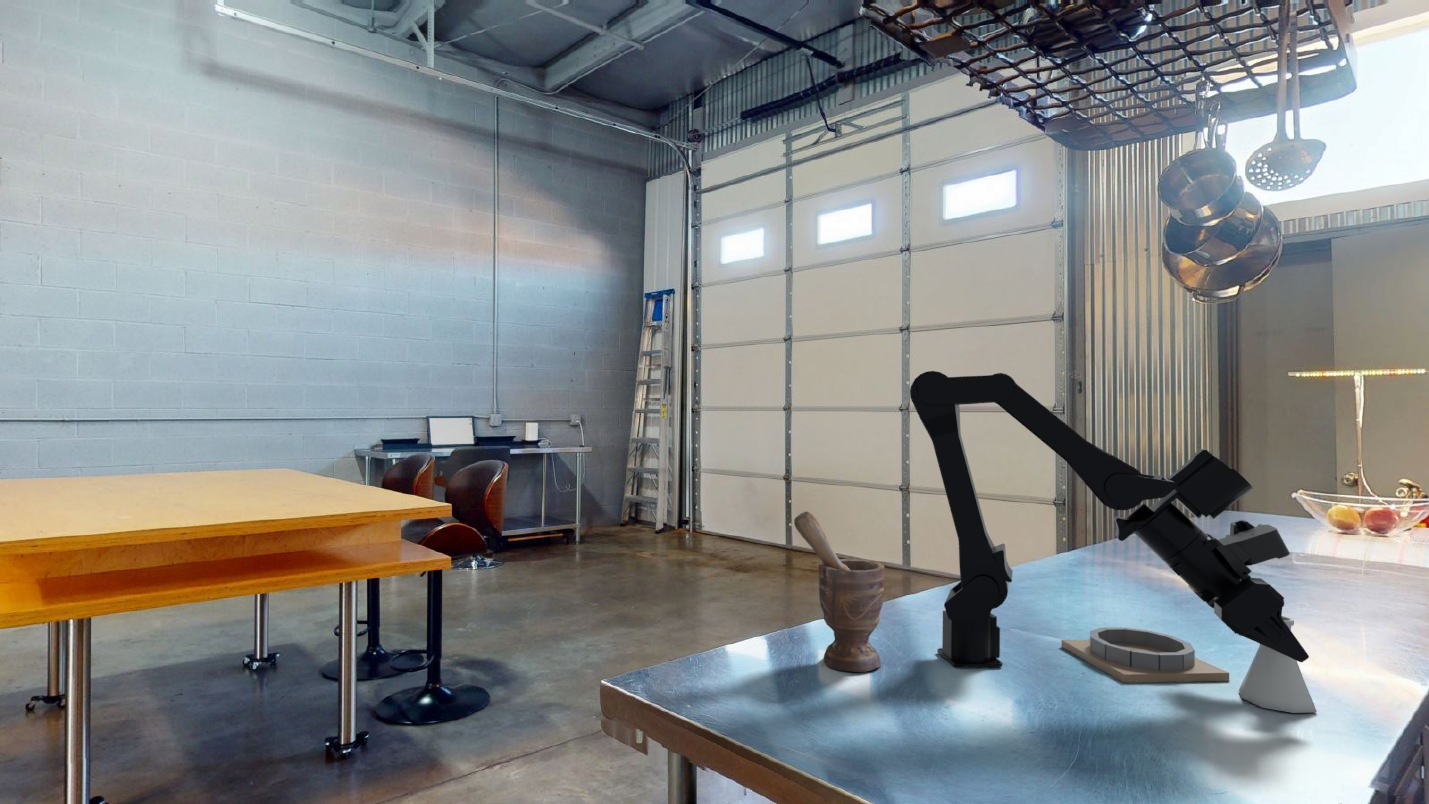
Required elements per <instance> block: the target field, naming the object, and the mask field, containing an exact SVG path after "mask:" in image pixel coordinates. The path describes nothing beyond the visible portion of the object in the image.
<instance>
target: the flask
mask: <svg viewBox="0 0 1429 804" xmlns="http://www.w3.org/2000/svg"><path fill="white" fill-rule="evenodd" d="M1282 619H1283V620H1284V622H1285V623H1286V625H1287V626H1288V627H1289V629H1290V630H1291V631H1292V627H1293V626H1294V625H1295V621H1294V619H1293V618H1292V617H1290V616H1285V615H1282ZM1258 645H1259V646H1258V647H1257V648H1258V649H1257V651H1256V653H1255V656H1254V657H1253V660H1252V662H1251V664H1250V666H1249V668H1248V670H1247V672H1246V674H1245V676H1244V678H1243V679H1242V682H1241V685H1239V688H1238V692H1239V695H1240V698H1241V699H1243V700H1246V701H1248V702H1250V703H1252V704H1253V705H1256V706H1258V707H1260V708H1264V709H1268V710H1275V711H1281V712H1287V713H1293V714H1301V713H1302V714H1303V713H1307V714H1309V713H1317V712H1318V711H1317V708H1316V706H1315V703H1314V701H1313V698H1312V696H1311V693H1310V691H1309V688H1308V686H1307V684H1306V681H1305V679H1304V677H1303V676H1304V675H1303V674H1302V671H1301V669H1300V665H1299V663H1298V661H1296V660H1294V659H1292V658H1290V657H1288V656H1286V655H1284V654H1281V653H1279V652H1277V651H1275V650H1273V649H1271V648H1268V647H1266V646H1264V645H1262V644H1260V643H1259V644H1258Z"/></svg>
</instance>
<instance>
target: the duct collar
mask: <svg viewBox="0 0 1429 804" xmlns="http://www.w3.org/2000/svg"><path fill="white" fill-rule="evenodd" d="M1060 643H1061V645H1060V646H1061V648H1063V649H1064V650H1066V651H1068V652H1070V653H1072V654H1073V655H1074V656H1077V657H1078V658H1080V659H1082V660H1084V661H1086V662H1087V663H1088V664H1091V665H1092V666H1094V667H1096V668H1098V669H1100V670H1101V671H1103V672H1105V673H1106V674H1108V675H1110V676H1111V677H1114V678H1115V679H1117V680H1119V681H1121V682H1122V683H1124V684H1125V683H1126V684H1127V683H1130V684H1131V683H1175V682H1177V683H1178V682H1187V683H1188V682H1223V681H1224V682H1226V681H1227V682H1228V681H1230V672H1228V671H1226V670H1224V669H1222V668H1219V667H1217V666H1215V665H1213V664H1211V663H1208V662H1206V661H1204V660H1202V659H1199V658H1197V657H1196V655H1195V654H1196V653H1195V651H1196V650H1195V649H1194V647H1193V645H1192V643H1190V642H1188V641H1185V640H1183V639H1181V638H1179V637H1176V636H1173V635H1169V634H1165V633H1161V632H1158V631H1153V630H1148V629H1139V628H1131V627H1126V626H1125V627H1122V626H1117V627H1113V626H1112V627H1110V626H1109V627H1098V628H1095V629H1092V630H1089V639H1061V642H1060Z"/></svg>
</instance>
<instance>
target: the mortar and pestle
mask: <svg viewBox="0 0 1429 804" xmlns="http://www.w3.org/2000/svg"><path fill="white" fill-rule="evenodd" d="M793 523H794V527H795V529H796V530H797V532H798V533H799V534H800V536H801V537H802V538H803V539H804V540H805V542H806V543H807V544H808V545H809V546H810V547H811V549H812V550H813V551H814V553H815V554H816V555H817V556H818V557H819V558H818V559H820V561H822V562H820V563H819V564H818V581H819V583H818V595H819V596H818V597H819V603H820V607H821V610H822V612H823V619H824V622H825V624H826V625H827V626H828V627H829V628H830V629H831V630H832V631H833V636H834V640H833V642H832V643H830V644H829V645H828V646H827V647H826V649H825V652H824V654H823V663H824V664H825V665H826V666H827V667H828V668H830V669H834V670H837V671H843V672H855V673H858V672H860V673H862V672H864V673H865V672H870V671H873V670H875V669H878V668H880V667H882V662H881V659H880V655H879V653H878V651H877V649H876V648H875V647H873V645H872V643H870V641H869V640H870V636H871V634H872V633H873V632H874V630H875V629H876V628H877V627H878V625H879V623H880V620H881V617H880V615H881V611H882V607H883V605H884V601H885V573H886V571H885V565H884V564H883V563H881V562H876V561H875V560H871V561H870V560H867V559H848V558H844V559H843V558H842V559H841V558H839V557H838V556H837V554H836V553H835V551H834V549H833V547H832V546H831V543H830V542H829V540H828V538H827V536H826V533H825V532H824V531H823V529H822V527H821V525H820V523H819V522H818V520H817V518H816V517H815V516H814V515H813V514H812V513H811V512H809V511H803V512H801V513H800V514H798V515H797V516H796V517H794V521H793Z"/></svg>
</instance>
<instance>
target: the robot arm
mask: <svg viewBox="0 0 1429 804" xmlns="http://www.w3.org/2000/svg"><path fill="white" fill-rule="evenodd" d="M909 396H910V400H911V402H912V403H913V404H912V405H913V406H914V409H915V410H916V411H915V412H917V415H918V417H919V419H920V421H921V422H922V425H923V427H924V429H925V430H926V432H927V434H928V436H929V438H930V440H931V442H932V446H933V450H934V454H935V456H936V461H937V463H938V464H937V465H938V468H939V472H940V475H941V479H942V483H943V487H944V491H945V493H946V494H945V495H946V497H947V498H946V499H947V502H948V505H949V510H950V513H951V517H952V521H953V524H954V528H955V532H956V535H957V540H958V557H959V558H958V560H959V577H960V581H959V582H958V583H957V584H956V585H954V586H953V587H952V588H951V589H950V590H949V593H948V594H947V598H946V599H945V602H944V604H943V606H944V610H942V639H941V640H942V643H941V644H942V646H941V648H937V653H938V654H939V655H940V656H941V657H943V658H944V659H945V660H947V662H948V663H950V664H951V665H952V666H953V667H955V668H997V667H998V668H1002V667H1003V662H1002V661H1001V660H999V658H1000V657H1001V627H1000V626H999V625H998V623H997V622H998V616H996V615H995V614H993V613H991V612H992V610H994V609H997V608H999V607H1000V606H1001V605H1003V604H1004V602H1005V601H1006V599H1007V597H1008V595H1009V594H1008V593H1009V585H1010V583H1012V581H1013V575H1014V574H1013V572H1014V571H1013V569H1012V568H1011V567H1010V565H1009V563H1008V561H1007V552H1006V550H1007V549H1006V544H1005V543H1002V544H998V545H995V544H994V543H993V541H992V539H991V537H990V535H989V532H988V531H987V526H986V524H985V519H984V516H983V513H982V509H981V505H980V502H979V497H978V494H977V490H976V487H975V482H974V480H973V479H974V478H973V475H972V472H971V471H972V470H971V468H970V465H969V461H968V456H967V453H966V450H965V449H966V448H965V446H964V441H963V438H962V435H961V413H960V411H961V409H960V405H962V406H963V405H975V404H976V405H977V404H993V403H994V404H997V405H998V406H999V407H1001V409H1003V410H1004V411H1006V413H1007V414H1009V416H1011V417H1012V418H1014V420H1016V421H1017V422H1019V424H1021V425H1022V426H1023V427H1025V428H1026V430H1028V431H1029V432H1030V433H1032V434H1033V435H1034V436H1035V437H1036V438H1038V439H1039V440H1040V441H1041V442H1042V443H1044V444H1045V445H1046V446H1047V447H1048V448H1049V449H1051V450H1052V451H1053V452H1054V453H1056V454H1057V455H1058V456H1059V457H1060V458H1062V459H1063V460H1064V462H1065V463H1067V464H1068V465H1069V466H1070V467H1071V469H1072V470H1073V471H1074V472H1075V473H1076V475H1077V476H1078V477H1079V478H1080V479H1081V480H1082V482H1083V483H1084V484H1085V485H1086V486H1087V488H1088V489H1089V490H1090V491H1091V493H1093V495H1094V496H1095V497H1096V498H1097V499H1098V500H1099V501H1100V503H1102V505H1104V506H1105V507H1107V508H1109V509H1112V510H1114V511H1129V510H1131V509H1134V508H1135V509H1134V510H1133V511H1132V512H1131V513H1129V514H1128V515H1126V516H1123V517H1122V516H1114V518H1113V519H1114V522H1115V532H1114V535H1115V537H1116V538H1117V539H1118V541H1120V542H1123V541H1125V540H1127V539H1128V538H1129V537H1131V535H1132V534H1134V535H1135V536H1136V537H1137V538H1139V539H1140V540H1141V541H1142V542H1143V543H1144V544H1145V545H1146V546H1147V547H1149V549H1150V550H1151V551H1152V552H1154V554H1156V555H1157V557H1159V559H1161V560H1162V562H1164V563H1165V564H1166V565H1167V566H1168V567H1169V568H1170V569H1171V570H1172V571H1173V572H1174V573H1175V574H1176V575H1177V576H1178V577H1180V579H1182V580H1183V581H1184V582H1185V583H1186V584H1187V585H1188V588H1189V589H1190V590H1191V591H1192V592H1193V593H1194V594H1195V595H1196V596H1197V597H1198V598H1200V599H1201V600H1202V601H1203V602H1204V603H1206V604H1207V605H1208V606H1209V607H1210V608H1212V609H1213V611H1214V612H1213V613H1214V614H1215V615H1216V617H1218V618H1219V620H1220V621H1222V623H1224V624H1225V626H1227V628H1229V629H1230V630H1231V631H1232V632H1233V633H1234V634H1236V635H1239V636H1240V637H1241V636H1242V637H1244V638H1246V639H1248V640H1250V641H1253V642H1255V643H1257V644H1259V645H1260V644H1262V645H1264V646H1266V647H1268V648H1271V649H1273V650H1275V651H1277V652H1279V653H1281V654H1284V655H1286V656H1288V657H1290V658H1292V659H1294V660H1296V661H1297V662H1299V663H1303V662H1306V660H1308V659H1309V658H1310V656H1309V654H1308V652H1307V651H1306V650H1305V648H1304V646H1302V645H1301V643H1300V641H1299V640H1298V638H1296V636H1295V634H1294V633H1293V631H1292V629H1291V630H1290V629H1289V627H1288V626H1287V625H1286V623H1285V622H1284V620H1283V619H1282V614H1283V608H1284V606H1285V597H1284V596H1283V595H1282V594H1280V592H1279V591H1278V590H1276V588H1274V587H1273V586H1272V585H1271V584H1270V583H1268V582H1266V581H1265V580H1264V579H1262V578H1260V577H1251V575H1250V574H1251V573H1252V572H1253V570H1252V569H1250V568H1249V567H1248V566H1253V565H1256V564H1259V563H1263V562H1266V561H1269V560H1270V561H1271V560H1273V559H1283V558H1285V557H1288V556H1289V555H1290V554H1291V552H1290V551H1289V549H1288V547H1287V545H1286V543H1285V542H1284V539H1283V538H1282V535H1281V534H1280V532H1279V530H1278V529H1277V528H1276V527H1275V526H1272V525H1270V524H1261V523H1259V524H1257V526H1255V525H1253V524H1251V523H1250V522H1248V521H1247V520H1245V519H1239V520H1236V521H1233V522H1231V523H1230V525H1229V527H1230V529H1229V534H1226V535H1225V537H1223V538H1220V539H1217V538H1216V537H1213V536H1212V535H1211V534H1210V533H1205V532H1204V531H1203V530H1202V529H1201V528H1200V527H1199V526H1198V525H1197V524H1195V522H1194V521H1192V520H1191V519H1190V518H1189V516H1187V515H1186V514H1185V513H1184V512H1182V510H1181V509H1179V507H1177V506H1176V505H1175V504H1174V503H1173V501H1175V500H1176V501H1177V502H1178V503H1179V504H1180V505H1181V506H1183V507H1184V508H1185V509H1186V510H1187V511H1188V512H1189V513H1190V514H1192V515H1193V516H1194V517H1195V518H1197V519H1201V518H1202V517H1203V516H1204V518H1207V517H1209V518H1210V519H1212V520H1214V519H1216V518H1217V517H1218V516H1219V515H1221V514H1222V513H1223V512H1224V511H1226V510H1227V509H1229V507H1231V506H1232V505H1233V504H1235V503H1236V502H1237V501H1239V500H1240V499H1242V498H1243V497H1244V496H1245V495H1247V494H1248V493H1249V492H1250V491H1251V490H1252V489H1254V487H1253V486H1252V484H1251V483H1249V481H1248V480H1247V479H1246V478H1245V477H1244V476H1243V475H1242V474H1241V473H1239V472H1238V471H1237V470H1236V469H1234V467H1230V466H1228V465H1227V464H1226V463H1224V462H1223V461H1222V460H1220V458H1218V457H1216V456H1215V455H1213V454H1212V453H1211V452H1210V451H1209V450H1207V449H1204V448H1200V449H1198V450H1197V451H1196V452H1195V453H1193V455H1192V456H1191V457H1190V458H1189V460H1188V461H1187V462H1185V463H1184V464H1183V465H1182V466H1179V468H1178V469H1177V470H1175V471H1174V472H1173V473H1171V475H1169V476H1167V478H1166V477H1164V476H1162V475H1160V474H1155V475H1153V474H1151V475H1150V474H1144V473H1142V472H1140V470H1138V469H1137V468H1136V467H1134V466H1132V465H1130V464H1128V463H1126V462H1125V461H1123V460H1121V459H1120V458H1118V457H1116V456H1114V455H1113V454H1112V453H1109V452H1108V451H1106V450H1104V449H1102V448H1101V447H1098V446H1097V445H1095V444H1093V443H1092V442H1089V441H1088V440H1086V439H1085V438H1084V437H1082V436H1081V435H1080V434H1079V433H1078V432H1076V431H1075V430H1074V429H1073V428H1072V427H1070V426H1069V425H1068V424H1066V423H1065V422H1064V420H1061V418H1059V417H1058V416H1057V415H1055V414H1054V413H1053V412H1052V411H1051V410H1049V409H1048V408H1047V407H1046V406H1044V405H1043V404H1042V403H1041V402H1039V400H1037V399H1035V397H1033V396H1032V395H1031V394H1029V393H1028V392H1027V391H1026V390H1025V389H1024V388H1022V387H1021V386H1020V385H1018V384H1017V383H1016V381H1015V380H1014V378H1013V377H1012V376H1011V375H1008V374H1007V373H1003V372H997V373H994V374H990V375H966V376H965V375H964V376H951V377H949V376H948V375H946V374H944V373H942V371H941V372H940V371H935V370H930V371H925V372H923V373H920V374H919V375H918V376H917V377H916V378H914V380H913V381H912V383H911V385H910V389H909ZM1156 499H1159V500H1158V501H1156V502H1154V503H1153V504H1152V505H1150V506H1148V505H1146V504H1145V503H1142V502H1143V501H1149V500H1156ZM1140 504H1141V505H1140ZM1137 506H1138V507H1137ZM1136 507H1137V508H1136Z"/></svg>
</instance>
